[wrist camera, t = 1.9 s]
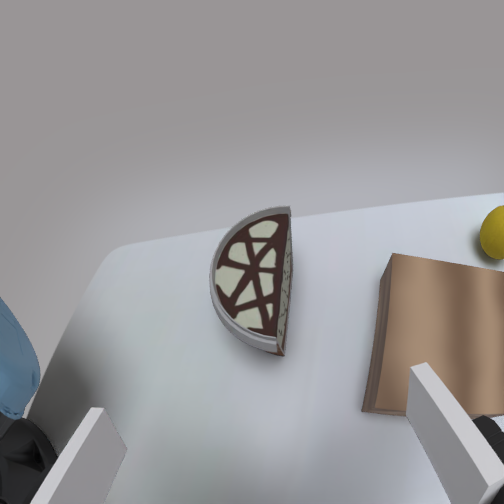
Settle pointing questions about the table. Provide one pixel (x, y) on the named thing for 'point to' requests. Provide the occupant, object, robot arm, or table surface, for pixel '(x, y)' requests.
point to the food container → (255, 279)
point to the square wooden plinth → (438, 334)
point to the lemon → (493, 233)
